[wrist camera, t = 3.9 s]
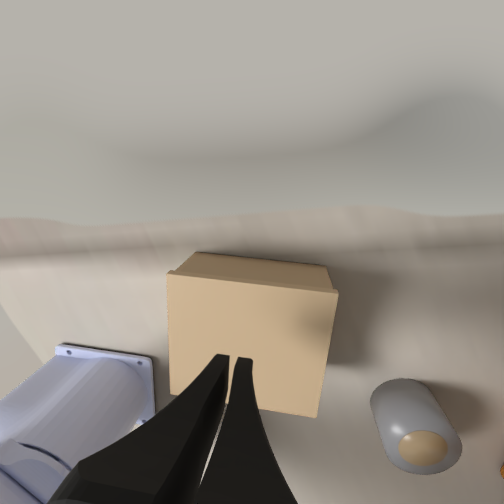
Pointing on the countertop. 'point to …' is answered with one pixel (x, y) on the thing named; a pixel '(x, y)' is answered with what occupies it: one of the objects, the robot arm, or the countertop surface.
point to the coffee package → (502, 471)
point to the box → (257, 269)
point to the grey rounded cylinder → (414, 427)
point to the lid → (252, 335)
